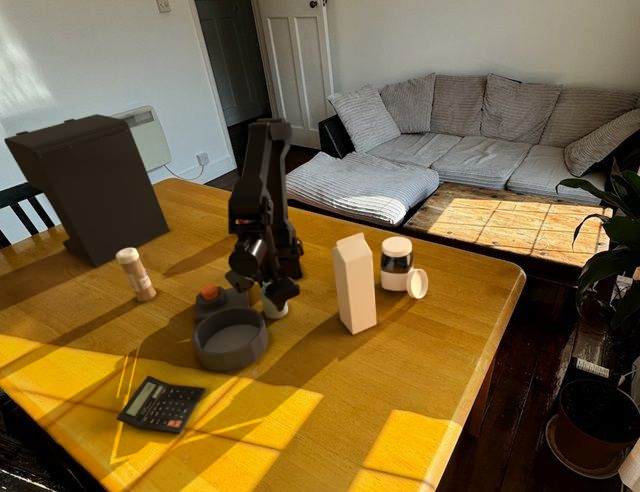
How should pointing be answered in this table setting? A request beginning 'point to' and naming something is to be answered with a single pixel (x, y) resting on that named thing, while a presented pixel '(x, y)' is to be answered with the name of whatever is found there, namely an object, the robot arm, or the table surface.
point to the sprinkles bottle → (136, 274)
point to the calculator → (161, 406)
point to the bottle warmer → (230, 339)
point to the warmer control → (219, 302)
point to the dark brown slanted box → (92, 184)
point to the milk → (354, 283)
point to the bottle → (271, 305)
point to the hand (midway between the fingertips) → (274, 304)
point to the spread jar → (401, 268)
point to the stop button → (209, 292)
